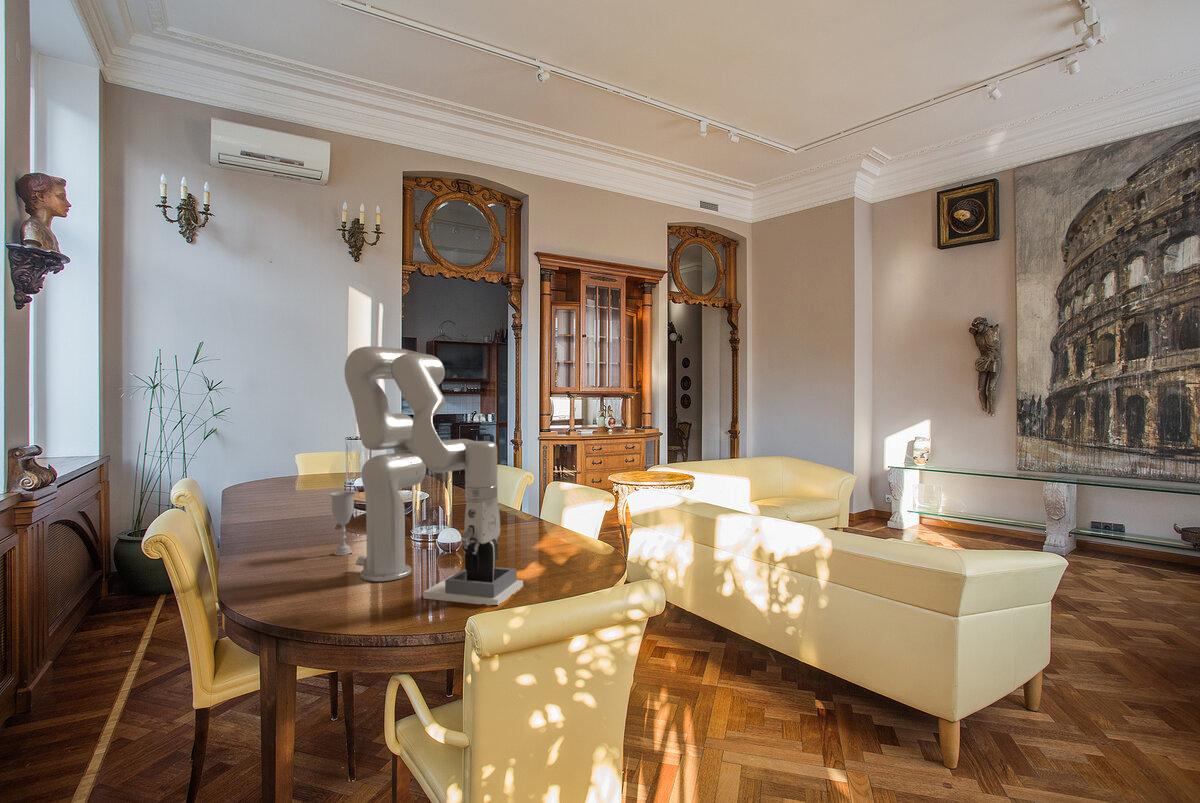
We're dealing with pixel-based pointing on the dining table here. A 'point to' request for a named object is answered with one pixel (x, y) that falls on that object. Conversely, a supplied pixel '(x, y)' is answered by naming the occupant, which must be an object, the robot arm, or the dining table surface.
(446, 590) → the dock
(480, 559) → the battery charger
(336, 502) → the chalice
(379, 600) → the dining table surface
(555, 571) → the dining table surface
